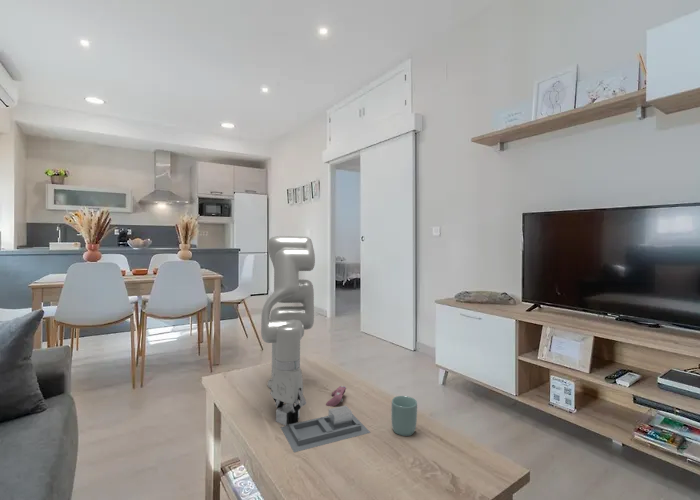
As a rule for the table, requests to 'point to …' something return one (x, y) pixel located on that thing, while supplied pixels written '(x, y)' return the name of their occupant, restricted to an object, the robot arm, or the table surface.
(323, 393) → the table surface
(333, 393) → the video game controller
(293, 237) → the robot arm
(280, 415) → the billet
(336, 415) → the block
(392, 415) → the cup
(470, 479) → the table surface
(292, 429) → the grey fixture tray
